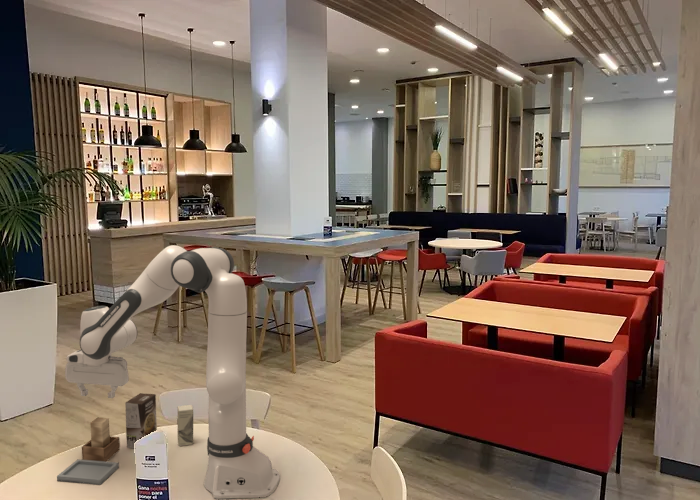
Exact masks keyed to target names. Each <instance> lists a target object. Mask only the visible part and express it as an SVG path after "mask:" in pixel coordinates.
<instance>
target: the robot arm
mask: <svg viewBox="0 0 700 500" xmlns="http://www.w3.org/2000/svg"><path fill="white" fill-rule="evenodd" d="M234 267H235V261H234V257H233V255H232V254H231V253H230V251H228V250H226V249H225V248H221V247H217V246H214V247H206V248H205V247H204V248H203V247H200V248H196V249H192V250H187V249H185V248H184V247H182V246H179V245H176V244H174V245H173V244H172V245H168V246H166V247H165V248H163V249H162V250H160V252H159V253H158V254H157V255H156V256H155V257H154V258H153V259H152V260H151V261H150V262H149V263H148V265H147V266H146V267H145V269H144V270H143V271H142V272H141V273H140V275H139V276H138V277H137V278H136V280H135V281H134V282H133V283H132V284H131V285H130V286H129V287H128V288H127V290H126V291H124V293H123V294H122V295H121V296H120V297H119V298H117V300H115V302H114V303H113V304H112V305H111V306H110V307H108V306H106V305H96V306H92V307H88V308H85V309H84V310H83V311H82V312H81V315H80V316H81V317H80V325H79V326H80V338H79V347H80V349H79V350H76V351H73V352H71V353H70V354H68V355H67V356H66V357H65V359H66V362H67V363H66V364H65V371H64V372H65V373H64V374H65V380H66V381H67V382H68V383H71V384H72V383H74V384H76V386H77V388H78V390H79V391H80V396H82V397H86V396H89V389H88V388H86V387H85V385H86V384H87V385H100V386H110V389H111V390H110V391H109V392H107V399H113V398H115V397H116V391H117V389H118V387H123V386H125V385H126V384H128V383H129V380H130V375H129V370H128V361H127V360H126V359H125V358H124V357H122V356H113V355H112V354H113V353H115V352H118V351H120V350H123V349H125V348H128V347H129V346H131V345H133V344H134V343H135V342H136V341H137V338H138V328H137V325H136V324H135V322H134V321H133V320H132V318H133V317H134V316H136V315H137V314H139V313H142V312H144V311H146V310H148V309H151V308H153V307H155V306H157V305H160V304H162V303H164V302H165V301H167V300H168V299H169V298H170V297H172V295H173V294H174V293H175V292H176V291H177V290H178V288H180V287H181V288H184V289H187V290H191V291H194V292H195V293H198V294H200V293H201V294H202V293H203V292H205V293H206V295H207V297H208V299H207V300H208V313H207V314H208V316H207V319H208V320H207V348H206V349H207V351H206V368H205V369H206V371H205V373H206V374H205V375H206V376H205V387H206V391H207V394H208V409H207V411H208V412H207V413H208V421H207V423H208V437H207V440H206V441H207V443H206V451H207V456H208V461H207V469H206V475H205V478H204V481H203V485H204V488H205V489H206V490H207V491H209V492H210V493H211V494H212V496H213V498H214V499H215V500H217V499H219V500H220V499H249V498H250V499H254V498H259V497H260V498H266V496H267V497H268V496H270V495H271V494H272V493H274V491H275V490H276V488H278V486H279V483H280V479H281V478H280V477H281V476H280V472H279V470H278V469H275V468H273V466H272V462H271V459H270V457H269V456H268V455H266V454H265V453H263V452H262V451H260V450H259V449H257V448H256V447H255V446H254V440H255V436H254V435H252V437H250V436H249V435H248V433H247V389H246V388H247V382H246V381H247V377H246V376H247V375H246V373H247V370H246V369H247V332H248V331H247V327H248V326H247V325H248V298H247V290H246V285H245V282H244V279H243V278H242V277H241V276H240V275H238V274H235V273H233V271H234Z"/></svg>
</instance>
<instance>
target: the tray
mask: <svg viewBox="0 0 700 500" xmlns="http://www.w3.org/2000/svg"><path fill="white" fill-rule="evenodd" d="M119 468H120V464H119V462H115V461H107V462H105V461H93V460H82V459H80V458H79V459H76V460H75V461H74V462H72V463H71V464H70V465H68V467H66V468H65V469H63V471H61V472H60V473H58V474H57V476H56V481H57V482H63V483H73V484H74V483H77V484H85V485H86V484H87V485H97V486H98V485H99V486H101V485H102V484H103V483H104V482H105V481H107V479H108V478H109V477H111V476H112V475H113V474H114V473H115V472H116V471H117V470H118V469H119Z"/></svg>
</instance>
